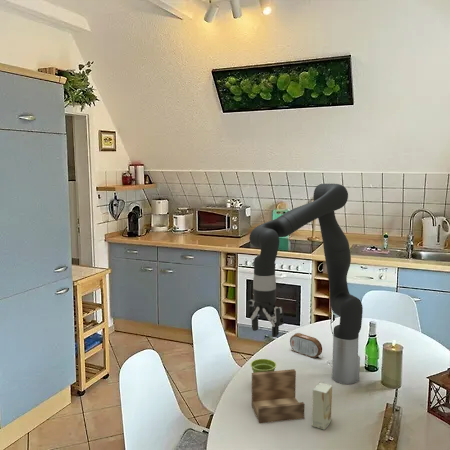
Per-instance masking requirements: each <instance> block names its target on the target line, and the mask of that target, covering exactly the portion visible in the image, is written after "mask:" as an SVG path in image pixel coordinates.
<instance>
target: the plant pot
mask: <svg viewBox="0 0 450 450" xmlns="http://www.w3.org/2000/svg"><path fill="white" fill-rule="evenodd" d="M250 367H251V369H252V373H257V372H268V371H276V368H277V363H276V362H275V361H274V360H272V359H268V358H258V359H254V360H252V361H251V363H250Z"/></svg>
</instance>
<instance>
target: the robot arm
mask: <svg viewBox="0 0 450 450" xmlns="http://www.w3.org/2000/svg"><path fill="white" fill-rule="evenodd" d="M312 195H313V201H310V202H308V203H306V204H303V205H300V206H296V207H294V208H292V209H290V210H288V211H286V212H285V213H283V214H281V215H280V216H278V217H277V218H274V219H272V220H269V221H267V222H263V223H261V224H259V225H257V226H255V227H254V228H253V229H252V230H251V232H249V233H250V234H249V238H248V239H249V242H250V244H251V245H252V246H253V247H255V248H258V249H260V254H259V255H257V256H256V257H255V258H254V259H253V280H252V281H253V283H252V284H253V285H252V286H253V287H252V289H253V292H252V293H253V299H249V300H247V302H246V317H247V318H250V320H251V329H252V331H254V332H256V331H258V330H259V318H260V317H264V318H266V319H267V320H268V321H269V322H270V324H271V336H272V338H277V337H278V335H279V334H280V332H279V331H280V329H279V327H281V326H283V325H284V324H285V321H284V320H285V317H284V307H283V306H279V307H278V306H276V304H275V303H276V300H277V279H276V278H277V277H276V259H277V255H278V252H279V247H280V238H285V237H288V236H290V235H292V234H293V233H295V232H296V231H297V230H300V229H301V228H303V227H304V226H307V225H308V224H309V223H311V222H313V221H315V220H317V219H318V224H319V228H320V233H321V238H322V239H321V240H322V247H323V252H324V253H323V254H324V258H325V263H326V271H327V276H328V277H327V279H328V285H329V304H330V308H331V310H332V313H334V314H335V315H336V316H338V317H339V324H338V325H336V326H335V325H334V327H333V335H332V336H333V337H332V342H333V343H332V368H331V369H332V371H331V378H332V379H333V381H335V382H337V383H338V384H342V385H351V384H354V383H356V382H359V381H360V372H361V371H360V370H361V369H360V368H361V366H360V365H361V357H360V355H359V339H360V338H359V337H360V336H359V334H360V331H361V329H362V324H363V323H362V322H363V312H364V311H363V309H364V308H363V303H362V301H361V299H359V298H358V297H357V296H354V295H353V294H351V293H350V290H349V287H348V281H347V280H348V279H347V278H348V273H349V270H350V266H351V263H352V255H351V248H350V243H349V240H348V238H347V236H346V234H345V233H344V230H342V228H341V226H340V225H339V223H338V221H337V219H336V215H335V213H336V212H335V211H337V210H339V209H342V208H344V207H345V206H346V204H347V202H348V200H349V192H348V190H347V188H346V187H345V186H344V185H343V184H340V183H320V184H317V185H316V187H315V188H314V190H313V194H312Z"/></svg>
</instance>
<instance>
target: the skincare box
mask: <svg viewBox="0 0 450 450" xmlns="http://www.w3.org/2000/svg"><path fill="white" fill-rule="evenodd" d="M332 398H333V385H331V384H327V383H324V382H319V383H318V384H317V385H316V386H315V387H314V388H313V389H312V413H311V414H312V417H311V421H312V422H311V426H312V427H314V428H318V429H320V430H326V429H327V427H328V426H329V425H330V423H331V422H332V407H333V406H332Z"/></svg>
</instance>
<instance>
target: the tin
mask: <svg viewBox="0 0 450 450" xmlns="http://www.w3.org/2000/svg"><path fill="white" fill-rule="evenodd" d="M289 338H290V339H289V344H290V347H291V350H293V351H294V352H295V353H298V354H299V355H303V356H306V357H309V358H313V359H314V358H315V359H316V358H318V357H319V356H320V355H321V354H322V353H323V346H322V343H321V342H320V341H319V339H317V338H315V337H314V336H311V335H307V334H303V333H300V332H296V333H294V334H293V335H292V336H291V337H289Z"/></svg>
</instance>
